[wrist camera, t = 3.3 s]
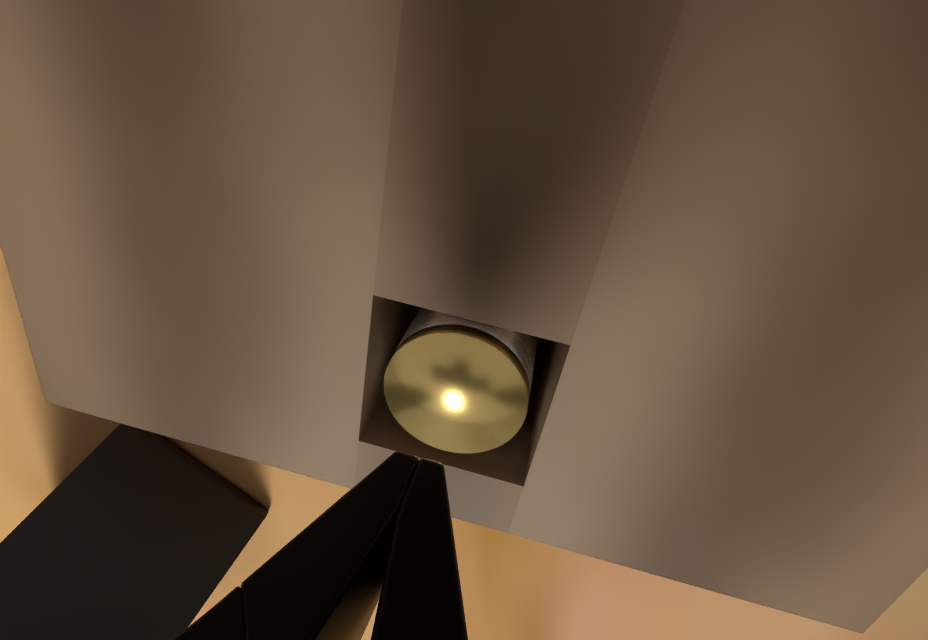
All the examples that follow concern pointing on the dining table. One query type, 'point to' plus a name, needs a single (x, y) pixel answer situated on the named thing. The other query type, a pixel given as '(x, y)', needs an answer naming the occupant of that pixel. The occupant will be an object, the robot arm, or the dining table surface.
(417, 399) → the brass capped peg
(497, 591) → the dining table surface
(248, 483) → the dining table surface
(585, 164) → the walnut block
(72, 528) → the phone stand
